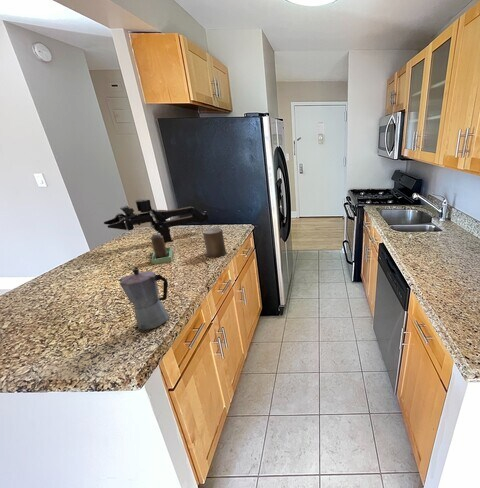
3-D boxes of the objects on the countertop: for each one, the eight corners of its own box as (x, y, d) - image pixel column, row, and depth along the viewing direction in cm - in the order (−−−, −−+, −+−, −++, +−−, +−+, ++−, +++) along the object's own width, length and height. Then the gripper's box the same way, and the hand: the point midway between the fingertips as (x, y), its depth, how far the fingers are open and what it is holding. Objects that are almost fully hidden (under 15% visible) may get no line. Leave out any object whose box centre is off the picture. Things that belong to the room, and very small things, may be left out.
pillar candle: (229, 253, 142) (225, 227, 137) (211, 259, 136) (207, 232, 130) (220, 249, 149) (216, 224, 143) (203, 254, 142) (198, 228, 136)
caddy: (155, 254, 142) (153, 249, 141) (172, 251, 146) (171, 246, 145) (152, 265, 129) (151, 260, 128) (171, 262, 133) (170, 256, 132)
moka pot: (139, 314, 92) (123, 263, 85) (184, 312, 94) (172, 262, 86) (122, 332, 84) (103, 277, 76) (172, 329, 85) (157, 275, 77)
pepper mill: (166, 256, 137) (160, 231, 132) (169, 259, 134) (163, 233, 129) (155, 259, 134) (148, 234, 129) (158, 262, 131) (151, 236, 125)
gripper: (131, 202, 150) (97, 207, 139) (141, 207, 139) (104, 213, 128) (136, 220, 154) (103, 226, 144) (146, 227, 143) (111, 234, 132)
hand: (105, 224), depth 137 cm, fingers open, 9 cm apart
